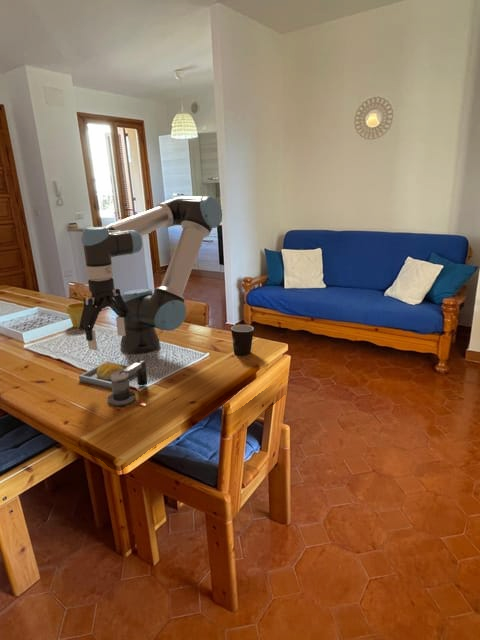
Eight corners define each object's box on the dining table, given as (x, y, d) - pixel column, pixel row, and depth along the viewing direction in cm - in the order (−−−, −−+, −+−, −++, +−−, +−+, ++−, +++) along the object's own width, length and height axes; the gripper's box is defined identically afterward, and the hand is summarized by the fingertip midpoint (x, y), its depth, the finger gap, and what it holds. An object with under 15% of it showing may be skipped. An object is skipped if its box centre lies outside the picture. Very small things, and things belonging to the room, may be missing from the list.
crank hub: (102, 403, 121) (99, 382, 119) (120, 391, 128) (118, 371, 126) (136, 412, 116) (135, 390, 114) (153, 399, 123) (152, 379, 121)
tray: (79, 381, 135) (78, 375, 134) (108, 366, 147) (107, 360, 146) (112, 389, 130) (111, 383, 129) (139, 372, 141) (138, 367, 141)
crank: (122, 402, 120) (120, 378, 117) (109, 398, 122) (107, 375, 119) (151, 382, 132) (150, 361, 130) (138, 379, 134) (137, 358, 132)
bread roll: (110, 368, 144) (109, 357, 142) (128, 374, 139) (127, 363, 138) (90, 376, 137) (89, 365, 136) (109, 383, 132) (108, 371, 131)
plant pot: (84, 320, 198) (81, 300, 195) (97, 324, 192) (95, 304, 189) (64, 326, 190) (61, 305, 187) (77, 330, 184) (74, 309, 181)
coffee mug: (251, 357, 155) (251, 332, 152) (228, 356, 156) (228, 331, 153) (256, 347, 166) (256, 323, 163) (235, 345, 167) (235, 321, 164)
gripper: (79, 288, 116) (89, 357, 123) (135, 271, 137) (141, 331, 144) (60, 286, 119) (70, 354, 126) (117, 269, 140) (123, 328, 147)
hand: (108, 342), depth 135 cm, fingers open, 13 cm apart
